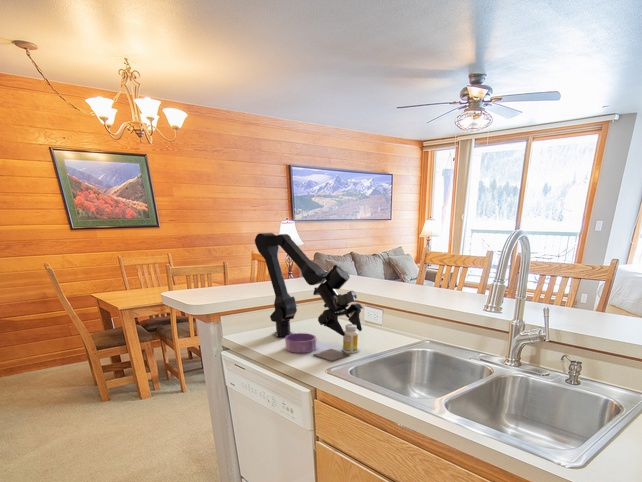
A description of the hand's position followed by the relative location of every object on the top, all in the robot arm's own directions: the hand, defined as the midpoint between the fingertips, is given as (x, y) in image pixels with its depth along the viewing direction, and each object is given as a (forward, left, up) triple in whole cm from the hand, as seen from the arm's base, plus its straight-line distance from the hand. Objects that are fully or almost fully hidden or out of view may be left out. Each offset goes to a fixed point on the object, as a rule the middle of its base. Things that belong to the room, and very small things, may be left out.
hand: (352, 332), depth 148 cm
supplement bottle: (-1, -1, -7) cm, 7 cm away
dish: (-8, -18, -7) cm, 21 cm away
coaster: (+2, -9, -7) cm, 11 cm away
